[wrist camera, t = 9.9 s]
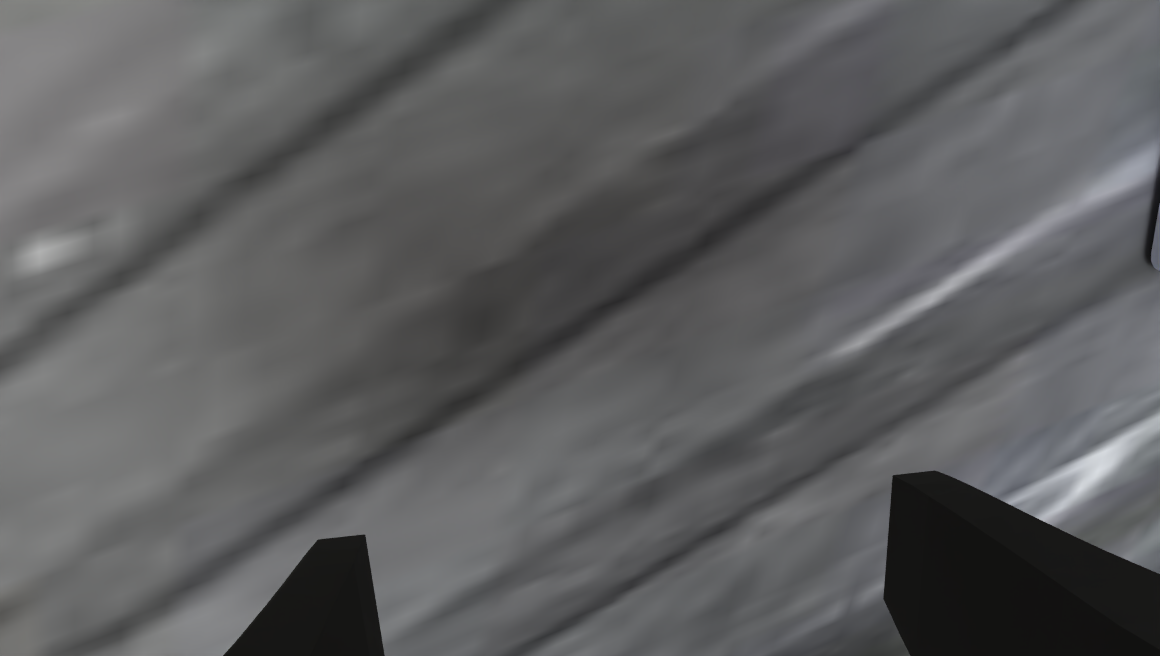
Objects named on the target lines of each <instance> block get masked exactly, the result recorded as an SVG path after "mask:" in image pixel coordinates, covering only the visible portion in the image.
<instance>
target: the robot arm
mask: <svg viewBox="0 0 1160 656" xmlns="http://www.w3.org/2000/svg"><path fill="white" fill-rule="evenodd" d="M1151 262H1152V264H1153V266H1154V268H1155V269H1157V270H1158V271H1160V205H1159V211H1158V216H1157V222H1156V228H1155V234H1154V240H1153V246H1152V251H1151ZM884 601H885V603H886V605H887V607H888V609H889V612H890V614H891V616H892V618H893V620H894V623H895V625H896V627H897V629H898V631H899V633H900V635H901V637H902V639H903V641H904V643H905V645H906V647H907V649H908V651H909V653H910V655H911V656H1160V574H1158V573H1156V572H1153V571H1151V570H1149V569H1146V568H1144V567H1142V566H1139V565H1137V564H1135V563H1132V562H1130V561H1128V560H1125V559H1123V558H1121V557H1118V556H1116V555H1114V554H1111V553H1109V552H1107V551H1105V550H1102V549H1100V548H1098V547H1096V546H1094V545H1092V544H1089V543H1087V542H1085V541H1083V540H1081V539H1079V538H1077V537H1074V536H1072V535H1070V534H1068V533H1066V532H1064V531H1062V530H1060V529H1058V528H1056V527H1054V526H1052V525H1050V524H1047V523H1045V522H1043V521H1041V520H1039V519H1037V518H1035V517H1033V516H1031V515H1029V514H1027V513H1025V512H1023V511H1021V510H1019V509H1017V508H1015V507H1013V506H1011V505H1009V504H1007V503H1005V502H1003V501H1001V500H999V499H997V498H995V497H993V496H991V495H989V494H987V493H985V492H983V491H981V490H979V489H976V488H974V487H972V486H970V485H968V484H966V483H964V482H962V481H959V480H957V479H955V478H953V477H950V476H948V475H945V474H943V473H940V472H938V471H927V472H918V473H909V474H900V475H893V479H892V493H891V506H890V519H889V533H888V546H887V559H886V573H885V586H884ZM223 656H384V650H383V643H382V637H381V631H380V625H379V618H378V612H377V606H376V600H375V593H374V587H373V581H372V575H371V568H370V562H369V556H368V549H367V543H366V537H365V535H356V536H347V537H338V538H329V539H320V540H317V542H316V543H315V544H314V545H313V546H312V547H311V548H310V550H309V551H308V552H307V553H306V555H305V556H304V557H303V558H302V560H301V561H300V562H299V564H298V565H297V566H296V568H295V569H294V570H293V571H292V573H291V574H290V575H289V577H288V578H287V579H286V581H285V582H284V583H283V584H282V586H281V587H280V588H279V590H278V591H277V592H276V593H275V595H274V596H273V597H272V598H271V600H270V601H269V602H268V603H267V605H266V606H265V607H264V608H263V610H262V611H261V612H260V613H259V614H258V616H257V617H256V618H255V619H254V620H253V622H252V623H251V624H250V625H249V626H248V628H247V629H246V630H245V631H244V632H243V634H242V635H241V636H240V637H239V638H238V640H237V641H236V642H235V643H234V644H233V645H232V647H231V648H230V649H229V650H228V651H227V652H226V653H225V654H224V655H223Z"/></svg>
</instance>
